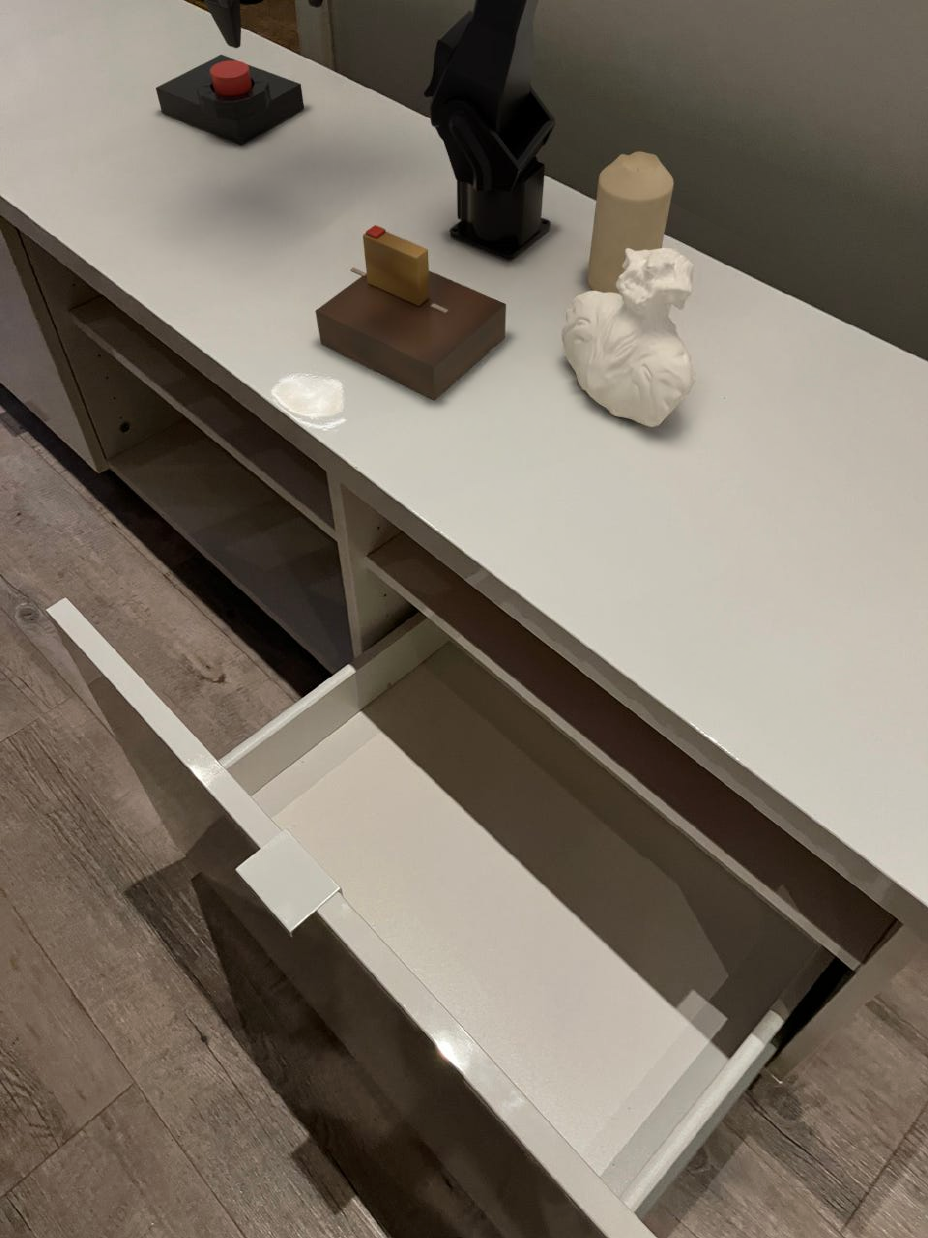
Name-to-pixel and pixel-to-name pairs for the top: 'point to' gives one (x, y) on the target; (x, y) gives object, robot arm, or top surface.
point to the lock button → (231, 78)
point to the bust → (634, 338)
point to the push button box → (230, 102)
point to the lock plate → (413, 331)
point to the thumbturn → (396, 265)
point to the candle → (627, 215)
